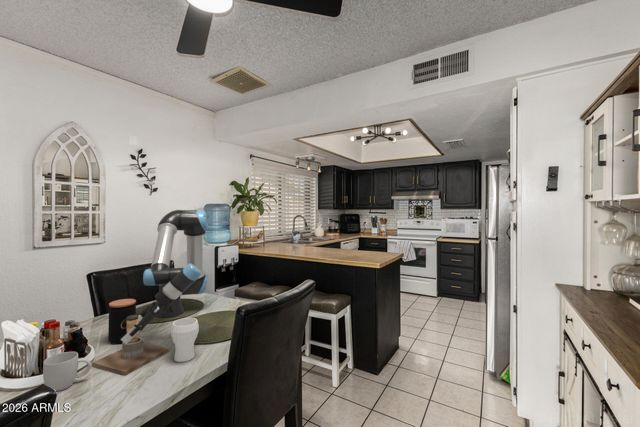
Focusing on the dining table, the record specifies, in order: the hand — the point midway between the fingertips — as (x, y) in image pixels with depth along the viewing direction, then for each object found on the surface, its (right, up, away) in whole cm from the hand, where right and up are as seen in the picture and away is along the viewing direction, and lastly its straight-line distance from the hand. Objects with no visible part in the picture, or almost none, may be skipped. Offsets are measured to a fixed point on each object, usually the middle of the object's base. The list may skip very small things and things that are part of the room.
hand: (126, 335), depth 118 cm
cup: (+23, -11, +3) cm, 25 cm away
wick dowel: (+2, -9, +1) cm, 9 cm away
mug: (-9, -10, -18) cm, 22 cm away
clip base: (+2, -10, +1) cm, 10 cm away
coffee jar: (-14, -10, +18) cm, 25 cm away
